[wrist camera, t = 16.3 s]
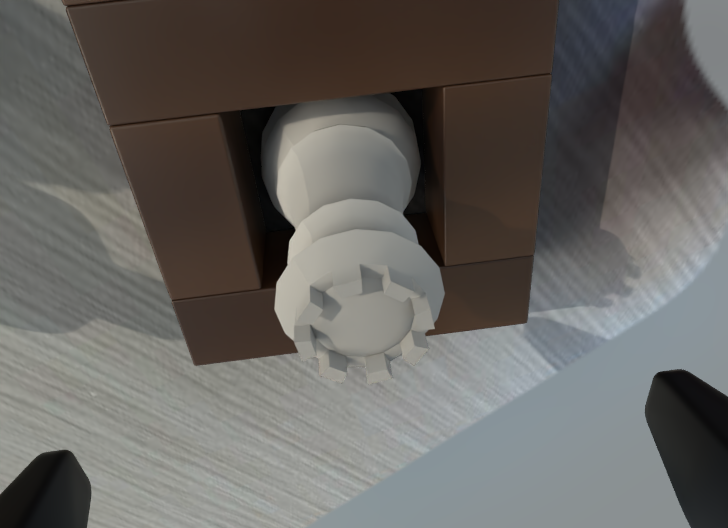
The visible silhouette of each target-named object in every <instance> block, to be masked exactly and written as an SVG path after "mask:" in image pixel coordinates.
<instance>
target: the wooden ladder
mask: <svg viewBox="0 0 728 528" xmlns="http://www.w3.org/2000/svg"><path fill="white" fill-rule="evenodd" d="M62 2H63V4H64V5H65V6H67V7H66V12H67V15H68V17H69V20H70V23H71V26H72V28H73V31H74V34H75V37H76V39H77V42H78V45H79V48H80V51H81V53H82V56H83V59H84V62H85V64H86V67H87V70H88V73H89V75H90V78H91V81H92V84H93V86H94V89H95V92H96V95H97V98H98V100H99V103H100V106H101V109H102V111H103V114H104V117H105V120H106V122H107V124H108V125H110V132H111V135H112V138H113V141H114V144H115V146H116V149H117V152H118V155H119V157H120V160H121V163H122V166H123V168H124V171H125V174H126V177H127V180H128V182H129V185H130V188H131V191H132V193H133V196H134V199H135V202H136V204H137V207H138V210H139V213H140V215H141V218H142V221H143V224H144V227H145V229H146V232H147V235H148V238H149V240H150V243H151V246H152V249H153V251H154V254H155V257H156V260H157V263H158V265H159V268H160V271H161V274H162V276H163V279H164V282H165V285H166V287H167V290H168V293H169V296H170V298H171V299H172V305H173V308H174V311H175V313H176V316H177V319H178V322H179V324H180V327H181V330H182V333H183V335H184V338H185V341H186V344H187V346H188V349H189V352H190V355H191V358H192V360H193V363H194V365H195V366H198V365H206V364H213V363H221V362H229V361H237V360H245V359H252V358H260V357H268V356H276V355H283V354H291V353H299V352H298V350H297V348H296V346H295V343H294V341H293V340H292V339H291V338H290V337H289V336H288V335H286V334H285V332H284V330H283V328H282V325H281V323H280V321H279V319H278V316H277V314H276V312H275V310H274V308H275V297H276V285H277V281H278V280H279V278H280V277H281V275H282V274H283V272H284V270H285V269H286V267H287V266H288V263H287V262H288V251H289V241H290V239H291V238H292V236H293V235H294V233H295V231H296V230H295V229H290V230H282V231H274V232H266V227H265V222H264V217H263V213H262V208H261V204H260V199H259V195H258V190H257V186H256V181H255V176H254V172H253V167H252V163H251V158H250V154H249V149H248V144H247V140H246V135H245V131H244V126H243V122H242V117H241V113H240V110H246V109H255V108H263V107H272V106H280V105H288V104H297V103H305V102H314V101H322V100H330V99H339V98H347V97H356V96H364V95H373V94H381V93H389V92H398V91H406V90H415V89H422V108H423V140H424V173H425V206H426V213H419V214H411V215H403V216H404V217H405V218H406V220H407V221H408V222H409V223H410V224H411V226H412V227H413V228H414V229H415V231H416V235H417V240H418V244H419V245H420V246H421V247H422V248H423V249H424V250H425V251H426V253H427V254H428V255H429V256H430V257H431V259H432V260H433V261H434V262H435V263H436V264H437V266H438V267H439V268H440V273H441V278H442V282H443V287H444V292H445V295H444V298H443V302H442V305H441V309H440V312H439V315H438V319H437V320H436V321H435V322H434V327H435V329H430V330H428V331H427V332H426V333H425V335H426V336H431V335H439V334H446V333H454V332H462V331H470V330H478V329H485V328H493V327H501V326H509V325H516V324H524V323H527V320H528V310H529V300H530V290H531V280H532V270H533V260H534V256H533V255H534V252H535V242H536V232H537V222H538V212H539V202H540V192H541V181H542V171H543V161H544V151H545V141H546V131H547V121H548V111H549V101H550V91H551V81H552V75H551V74H550V73H551V72H552V68H553V58H554V48H555V38H556V27H557V17H558V7H559V0H62Z"/></svg>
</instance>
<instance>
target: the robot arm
mask: <svg viewBox="0 0 728 528" xmlns="http://www.w3.org/2000/svg"><path fill="white" fill-rule="evenodd" d="M645 416H646V420H647V423H648V426H649V428H650V431H651V433H652V435H653V438H654V441H655V443H656V446H657V448H658V451H659V453H660V456H661V458H662V461H663V463H664V466H665V468H666V470H667V473H668V476H669V478H670V481H671V483H672V486H673V488H674V491H675V493H676V496H677V498H678V501H679V503H680V505H681V508H682V510H683V512H684V515H685V517H686V519H687V520H688V522H689V525H690V527H691V528H728V397H727V396H726V395H724V394H723V393H721V392H720V391H718V390H716V389H715V388H713V387H712V386H710V385H709V384H707V383H706V382H704V381H702V380H701V379H699V378H698V377H696V376H695V375H693V374H691V373H690V372H688V371H685V370H682V369H677V370H669V371H662V372H658V373H657V374H656V375H655V376H654V378H653V381H652V385H651V388H650V392H649V395H648V398H647V402H646V405H645ZM90 502H91V485H90V481H89V479H88V477H87V476H86V474H85V472H84V471H83V469H82V467H81V466H80V464H79V462H78V461H77V459H76V458H75V456H74V454H73V453H72V452H70V451H68V450H59V451H51V452H45V453H42V454H40V455H39V456H37V457H36V458H35V459H34V460H33V461H32V462H31V463H30V464H29V465H28V466H27V467H26V468H25V469H24V470H23V471H22V472H21V473H20V474H19V475H18V477H17V478H16V479H15V480H14V481H13V482H12V483H11V484H10V485H9V486H8V487H7V488H6V489H5V490H4V491H3V492H2V493H1V494H0V528H87V523H88V516H89V509H90Z"/></svg>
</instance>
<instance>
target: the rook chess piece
mask: <svg viewBox="0 0 728 528" xmlns="http://www.w3.org/2000/svg"><path fill="white" fill-rule="evenodd" d="M261 164H262V178H263V181H264V183H265V186H266V188H267V191H268V194H269V196H270V199H271V201H272V203H273V205H274V207H275V208H276V209H277V210H278V211H279V212H280V213H281V214H282V215H283V216H284V218H285V219H286V220H287V221H288V222H289V223H290V224H291V225H292V226H293V227H295V230H296V231H295V233H294V235H293V236H292V238H291V239H290V241H289V251H288V262H287V263H288V266H287V267H286V269H285V270H284V272H283V274H282V275H281V277H280V278H279V280H278V281H277V285H276V297H275V308H274V310H275V312H276V314H277V316H278V319H279V321H280V323H281V325H282V328H283V330H284V332H285V334H286V335H288V336H289V337H290V338H291V339H292V340H293V341H294V343H295V346H296V348H297V350H298V352H299V355H300V357H301V359H302V361H305V360H307V359H310V358H312V357H314V356H315V357H317V358H319V376H322V377H325V378H328V379H330V380H333V381H336V382H339V383H343V381H344V379H345V377H346V375H347V367H366V375H367V382H368V384H373V383H377V382H381V381H385V380H389V379H393V377H392V371H391V366H390V361H391V360H393V359H395V358H397V357H398V356H400V355H403V360H405V361H406V362H408V363H410V364H411V365H413V366H415V365H416V364H417V362H418V361H419V360H420V359H421V358H422V357H423V356H424V354H425V353H426V352H427V351H428V350H429V347H428V343H427V339H426V335H425V333H426V332H427V331H428V330H430V329H435V327H434V322H435V321H436V320H437V319H438V315H439V312H440V309H441V305H442V302H443V298H444V295H445V292H444V287H443V282H442V278H441V273H440V268H439V267H438V266H437V264H436V263H435V262H434V261H433V260H432V259H431V257H430V256H429V255H428V254H427V253H426V251H425V250H424V249H423V248H422V247H421V246H420V245H419V244H418V240H417V235H416V231H415V229H414V228H413V227H412V226H411V224H410V223H409V222H408V221H407V220H406V218H405V217H404V216H403V211H404V210H405V208H406V207H407V205H408V204H409V202H410V201H411V199H412V198H413V197H414V194H415V189H416V185H417V180H418V176H419V171H420V167H421V158H420V153H419V149H418V144H417V139H416V134H415V129H414V124H413V120H412V119H411V118H410V116H409V115H408V114H407V112H406V111H405V109H404V108H403V107H402V105H401V104H400V103H399V101H398V100H397V99H396V97H395V96H393V95H392V94H390V93H381V94H373V95H364V96H356V97H347V98H339V99H330V100H322V101H314V102H305V103H297V104H288V105H280V106H276V108H275V109H274V111H273V113H272V115H271V117H270V119H269V121H268V123H267V125H266V127H265V128H264V130H263V132H262V146H261Z"/></svg>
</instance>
